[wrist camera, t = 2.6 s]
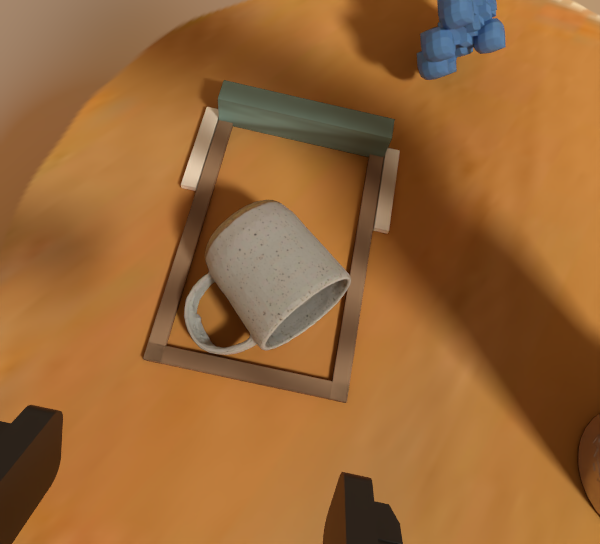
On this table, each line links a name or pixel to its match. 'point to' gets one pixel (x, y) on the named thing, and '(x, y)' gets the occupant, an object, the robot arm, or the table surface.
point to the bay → (231, 112)
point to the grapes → (459, 35)
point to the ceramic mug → (267, 277)
